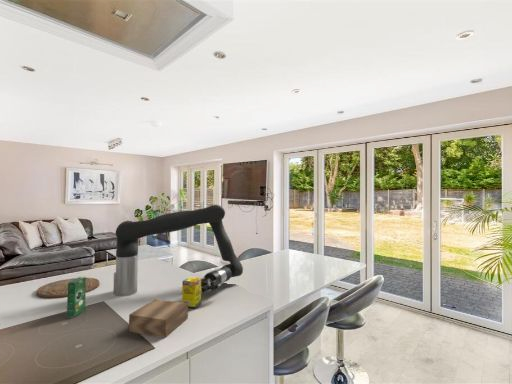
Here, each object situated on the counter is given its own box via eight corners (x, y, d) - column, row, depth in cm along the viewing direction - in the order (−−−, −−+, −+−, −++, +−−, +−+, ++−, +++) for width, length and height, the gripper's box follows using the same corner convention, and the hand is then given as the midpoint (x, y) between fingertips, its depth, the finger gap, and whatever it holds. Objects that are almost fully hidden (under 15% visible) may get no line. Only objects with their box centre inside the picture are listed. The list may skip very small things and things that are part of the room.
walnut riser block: (128, 332, 91) (129, 314, 91) (154, 315, 104) (155, 299, 104) (165, 338, 87) (166, 319, 87) (187, 319, 100) (187, 303, 101)
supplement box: (195, 309, 109) (195, 281, 109) (181, 307, 110) (181, 280, 110) (201, 303, 115) (201, 277, 115) (188, 302, 116) (188, 276, 116)
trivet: (97, 293, 126) (97, 289, 126) (28, 302, 115) (29, 298, 115) (101, 278, 148) (101, 275, 148) (44, 285, 137) (44, 281, 137)
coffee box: (78, 309, 108) (78, 276, 108) (85, 308, 108) (86, 275, 108) (66, 318, 100) (66, 282, 100) (74, 318, 100) (75, 282, 100)
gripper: (203, 268, 132) (180, 277, 117) (228, 272, 125) (207, 282, 111) (203, 284, 131) (180, 295, 117) (228, 288, 125) (207, 300, 111)
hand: (193, 288), depth 114 cm, fingers open, 8 cm apart
